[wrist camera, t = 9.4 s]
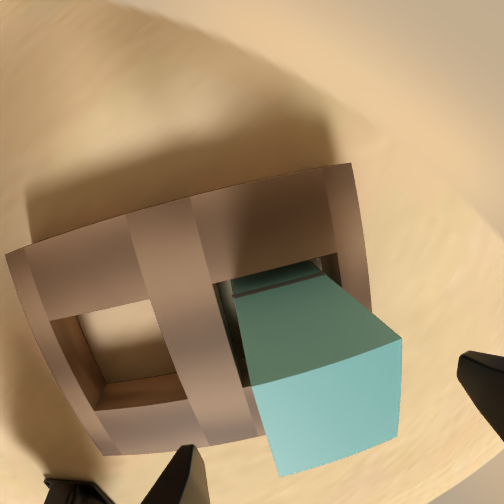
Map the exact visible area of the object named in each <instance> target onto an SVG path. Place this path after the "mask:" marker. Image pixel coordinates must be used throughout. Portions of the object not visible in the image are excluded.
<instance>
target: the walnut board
mask: <svg viewBox="0 0 504 504" xmlns="http://www.w3.org/2000/svg"><path fill="white" fill-rule="evenodd" d="M5 256H6V260H7V263H8V266H9V270H10V273H11V276H12V279H13V282H14V285H15V288H16V291H17V294H18V296H19V299H20V302H21V305H22V307H23V310H24V312H25V315H26V317H27V320H28V322H29V325H30V327H31V329H32V332H33V334H34V336H35V339H36V341H37V343H38V345H39V347H40V350H41V352H42V354H43V356H44V358H45V360H46V362H47V364H48V366H49V368H50V370H51V372H52V374H53V376H54V378H55V380H56V381H57V383H58V385H59V387H60V389H61V391H62V392H63V394H64V396H65V398H66V399H67V401H68V403H69V404H70V406H71V408H72V409H73V411H74V413H75V414H76V416H77V418H78V419H79V421H80V422H81V424H82V425H83V427H84V429H85V430H86V432H87V433H88V435H89V436H90V438H91V439H92V440H93V442H94V443H95V445H96V446H97V448H98V449H99V450H100V452H101V453H102V455H103V456H114V455H135V454H149V453H160V452H170V451H177V450H178V449H179V447H180V446H182V445H188V444H194V445H195V446H196V448H200V447H207V446H213V445H219V444H224V443H229V442H235V441H240V440H244V439H249V438H253V437H258V436H262V435H266V433H265V430H264V427H263V423H262V420H261V417H260V414H259V410H258V407H257V404H256V400H255V397H254V394H253V390H252V387H251V382H250V378H249V373H248V368H247V363H246V358H243V359H239V360H238V358H237V355H236V351H235V348H234V344H233V341H232V338H231V334H230V331H229V327H228V323H227V320H226V316H225V313H224V309H223V306H222V302H221V298H220V295H219V291H218V287H217V284H216V283H218V282H222V281H226V280H230V279H234V278H238V277H243V276H247V275H251V274H255V273H259V272H263V271H267V270H270V269H274V268H278V267H282V266H286V265H290V264H294V263H298V262H302V261H306V260H310V259H313V258H317V257H320V258H321V264H322V271H324V272H325V273H326V274H327V276H328V277H329V278H330V279H332V280H333V281H334V282H335V283H336V284H338V285H339V286H340V287H341V288H343V289H344V290H345V291H346V292H347V293H349V294H350V295H351V296H352V297H353V298H355V299H356V300H357V301H358V302H359V303H361V304H362V305H363V306H364V307H365V308H367V309H368V310H369V311H370V312H371V313H372V307H371V296H370V285H369V275H368V266H367V258H366V250H365V242H364V235H363V228H362V222H361V215H360V209H359V203H358V197H357V191H356V186H355V180H354V175H353V170H352V165H351V163H345V164H338V165H331V166H325V167H320V168H315V169H309V170H304V171H299V172H294V173H289V174H284V175H279V176H274V177H270V178H265V179H260V180H256V181H251V182H247V183H242V184H238V185H233V186H229V187H225V188H221V189H216V190H212V191H208V192H204V193H200V194H196V195H192V196H188V197H184V198H181V199H177V200H173V201H169V202H165V203H162V204H158V205H154V206H151V207H147V208H144V209H140V210H137V211H133V212H130V213H126V214H123V215H119V216H116V217H113V218H109V219H106V220H103V221H100V222H96V223H93V224H90V225H87V226H84V227H81V228H78V229H75V230H71V231H68V232H65V233H62V234H59V235H56V236H54V237H51V238H48V239H45V240H42V241H39V242H36V243H33V244H31V245H28V246H26V247H23V248H20V249H18V250H15V251H13V252H10V253H8V254H5ZM146 299H150V301H151V304H152V306H153V309H154V312H155V315H156V318H157V321H158V324H159V327H160V329H161V332H162V335H163V338H164V340H165V343H166V346H167V348H168V351H169V353H170V356H171V359H172V361H173V364H174V366H175V369H176V371H177V373H173V374H167V375H162V376H156V377H150V378H144V379H137V380H131V381H124V382H117V383H109V384H106V382H105V380H104V378H103V376H102V374H101V372H100V370H99V368H98V366H97V364H96V362H95V359H94V357H93V355H92V353H91V351H90V348H89V346H88V344H87V342H86V339H85V337H84V335H83V332H82V330H81V327H80V325H79V322H78V320H77V317H76V315H80V314H84V313H89V312H93V311H98V310H102V309H107V308H111V307H116V306H120V305H125V304H129V303H133V302H138V301H142V300H146Z"/></svg>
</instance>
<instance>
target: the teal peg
mask: <svg viewBox="0 0 504 504" xmlns="http://www.w3.org/2000/svg"><path fill="white" fill-rule="evenodd" d="M230 280H231V286H232V291H233V295H232V297H233V301H234V305H235V309H236V313H237V317H238V323H239V328H240V333H241V338H242V343H243V348H244V353H245V358H246V363H247V368H248V373H249V378H250V382H251V387H252V390H253V394H254V397H255V400H256V404H257V407H258V410H259V414H260V417H261V420H262V423H263V427H264V430H265V433H266V436H267V439H268V442H269V446H270V449H271V452H272V455H273V458H274V461H275V464H276V467H277V470H278V473H279V476H280V477H282V476H286V475H290V474H294V473H298V472H301V471H305V470H308V469H312V468H315V467H318V466H321V465H324V464H328V463H331V462H334V461H337V460H339V459H342V458H345V457H348V456H351V455H353V454H356V453H359V452H361V451H364V450H366V449H369V448H371V447H374V446H376V445H379V444H381V443H383V442H386V441H388V440H390V439H392V438H395V437H397V432H398V422H399V410H400V395H401V374H402V338H401V337H400V336H399V335H398V334H396V333H395V332H394V331H393V330H392V329H390V328H389V327H388V326H387V325H386V324H385V323H383V322H382V321H381V320H380V319H379V318H377V317H376V316H375V315H374V314H373V313H371V312H370V311H369V310H368V309H367V308H365V307H364V306H363V305H362V304H361V303H359V302H358V301H357V300H356V299H355V298H353V297H352V296H351V295H350V294H349V293H347V292H346V291H345V290H344V289H343V288H341V287H340V286H339V285H338V284H336V283H335V282H334V281H333V280H332V279H330V278H329V277H328V276H327V274H326V273H325V272H324V271H320V270H319V269H318V268H317V267H316V266H314V265H313V264H312V263H311V262H309V261H308V260H306V261H302V262H298V263H294V264H290V265H286V266H282V267H278V268H274V269H270V270H267V271H263V272H259V273H255V274H251V275H247V276H243V277H238V278H234V279H230Z"/></svg>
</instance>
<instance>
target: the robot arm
mask: <svg viewBox="0 0 504 504" xmlns="http://www.w3.org/2000/svg"><path fill="white" fill-rule="evenodd" d="M457 378H458V380H459V382H460V383H461V385H462V386H463V388H464V389H465V391H466V392H467V394H468V395H469V397H470V398H471V400H472V401H473V403H474V404H475V406H476V407H477V409H478V410H479V411H480V413H481V414H482V415H483V416H484V418H485V419H486V420H487V421H488V423H489V424H490V425H491V426H492V428H493V429H494V430H495V431H496V433H497V434H498V435H499V436H500V438H501V439H502V440H503V442H504V357H502V356H497V355H491V354H486V353H480V352H475V351H467V352H465V353H463V354H461V355H460V357H459V361H458V368H457ZM44 483H45V484H46V486H47V487H48V488H49V489H50V490H49V492H48V495H47V497H46V500H45V502H44V504H113V503H112V502H111V501H110V500H109V499H108V498H107V497H106V496H105V495H104V494H103V493H102V492H101V491H100V489H99V488H98V487H97V486H96V485H95V484H93V483H91V482H79V481H66V480H57V479H48V478H45V480H44ZM141 504H210V499H209V492H208V486H207V479H206V471H205V465H204V461H203V459H202V457H201V455H200V453H199V451H198V450H197V448H196V446H195V445H194V444H188V445H182V446H180V447H179V449H178V450H177V452H176V453H175V455H174V456H173V458H172V459H171V461H170V462H169V464H168V465H167V467H166V468H165V469H164V471H163V472H162V474H161V475H160V477H159V478H158V480H157V481H156V483H155V484H154V485H153V487H152V488H151V490H150V491H149V493H148V494H147V495H146V497H145V498H144V500H143V501H142V502H141Z"/></svg>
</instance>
